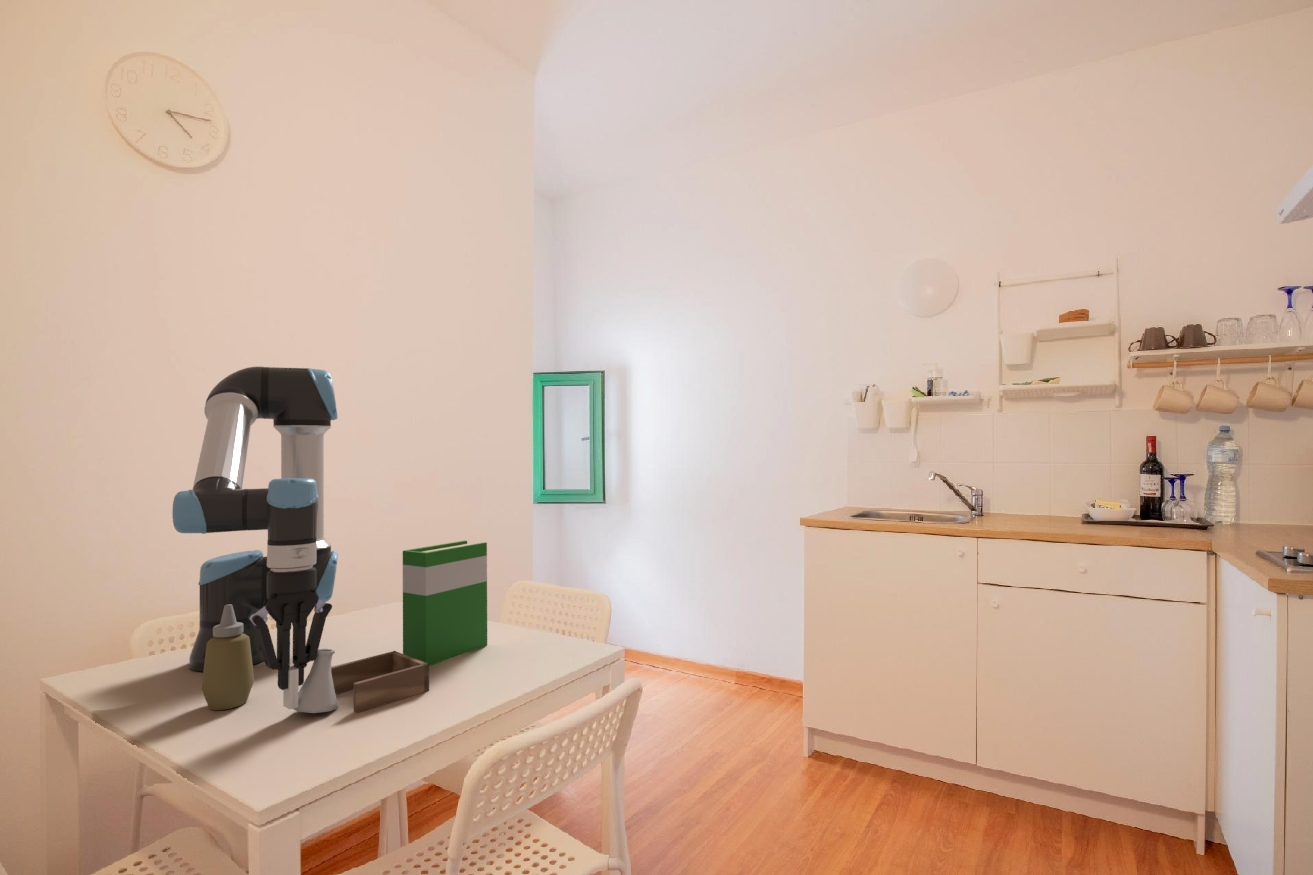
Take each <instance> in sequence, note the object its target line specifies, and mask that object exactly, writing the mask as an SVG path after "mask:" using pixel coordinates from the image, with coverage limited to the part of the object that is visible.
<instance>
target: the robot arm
mask: <svg viewBox="0 0 1313 875" xmlns="http://www.w3.org/2000/svg"><path fill="white" fill-rule="evenodd" d="M335 394H336V393H335V389H334V382H333V378H332V375H331V373H330V372H329V371H328V370H325V369H316V368H309V367H308V368H305V367H300V368H298V367H274V366H273V367H270V366H269V367H268V366H251V367H246V368H245V367H244V368H242V369H239V370H236V371H235V372H233V373H230V374H229V375H227V376H226V377H225V378H223V379H222V380H220V381H219V382H218V383H217V384H215V386H214V387H213V388H212V390H211V391H210V393H209V394H208V396H207V398H206V401H205V404H204V410H203V411H204V416H205V419H207V423H206V425H205V426H206V428H205V431H204V437H203V440H202V446H201V448H200V449H201V450H200V453H199V454H200V455H199V458H198V462H197V467H196V472H195V476H194V481H193V487H192V489H187V490H181V491H178V492H177V493H175V496H174V498H173V501H172V512H171V513H172V515H171V516H172V523H173V528H174V529H175V530H176V532H178V533H180V534H204V535H206V534H214V533H227V532H244V531H264V530H265V531H267V539H266V540H267V546H266V548H267V549H266V550H267V551H266V556H264V553H263V551H262V550H259V549H255V550H246V551H239V552H233V553H229V554H224V555H220V556H216V557H213V558H211V559H207V560H206V561H205V562H203V563H202V564H201V566H200V570H199V582H198V583H197V584H198V586H199V629H198V633H197V636H196V639H195V642H194V644H193V646H192V649H191V651H190V655H189V659H188V660H189V664H188V665H189V666H188V667H189V669H190V670H192V671H196V672H202V673H203V671H204V663H205V654H206V646H207V642H208V641H209V640H210V639H211V638H214V636H213V627H214V626H216V625H219V624H220V622H221V618H222V614H223V610H224V606H225V605H229V604H232V606H233V610H234V614H235V617H236V621H237V622H241V623H243V634H246V635H247V636H249V639H250V647H251V656H252V664H253V666H254V665H256V664H257V665H258V664H260V663H262V662H264V665H265V667H267V668H269V669H270V670H273V671H274V670H276V671H277V687H278V689H280V690H281V691H283V692H282V693H283V695H282V696H283V700H282V702H283V703H282V704H283V706H282V707H284V708H286V709H288V710H294V709H293V708H297V707H298V692H299V687H300V686H302V685H303V684H304V682H305V668H307V665H308V663H310V662H314V660H315V659H316V656H317V652H318V649H320V648H319V647H320V643H321V639H322V635H323V631H324V628H325V627H324V626H325V625H326V624H325V623H326V621H327V620H326V619H327V617H328V616H329V614H330V612H331V610H332V609H333V605H332V604H331V603H328V602H329V601H330V600H331V598H333V592H334V589H335V580H336V575H337V566H338V564H337V563H338V556H339V554H338V552H337V551H334V550H332V544H331V543H330V542H329V541H328V540H327V539H326V538H325V536H324V535H325V533H324V532H325V529H324V527H325V526H324V524H325V523H324V510H325V508H324V505H325V504H324V503H325V502H324V500H325V499H324V494H325V492H324V490H325V489H324V487H325V486H324V484H325V483H324V476H325V475H324V474H325V473H324V469H325V468H324V467H325V466H324V439H325V438H324V435H325V434H326V432H327V431H329V429H331V428H332V427H331V426H332V424H331V423H332V421H335V420H337V419H338V410H337V409H338V408H337V400H336V395H335ZM257 419H258V420H259V419H262V420H263V419H264V420H273V428H274V430H276V431H277V432H278V433H279V434H280V438H281V439H280V448H281V450H280V456H281V457H280V460H281V461H280V462H281V463H280V467H281V468H280V470H281V471H280V472H281V473H280V475H281V476H280V477H281V478H274V479H271V480H270V481H269V482H268V487H267V488H243V484H244V476H245V469H246V463H247V456H248V447H249V441H250V440H249V439H250V435H251V434H250V433H251V428H252V427H251V426H252V425H253V424H255V422H256V421H257ZM312 611H314V614H313V616H312V620H311V623H310V627H309V632H308V636H306V635H307V626H308V617H310V615H311V613H312ZM268 614H269V616H270V617H271V618H272V619H273V621H275V627H276V651H275V647H274V644H273V639H272V636H271V633H270V629H269V626H268V624H267V622H268V621H269V618H268ZM291 629H292V664H293V665H291ZM306 637H307V640H306Z"/></svg>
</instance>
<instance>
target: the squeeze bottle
mask: <svg viewBox="0 0 1313 875" xmlns="http://www.w3.org/2000/svg"><path fill="white" fill-rule="evenodd" d="M213 636H214V638H211V639H210V640H209V641H208V642H207V646H206V654H205V663H204V671H203V672H202V673H203V674H202V681H201V689H200V690H201V692H202V694H203V697H204V699H205V702H206V704H207V706H208V708H209V709H210V710H214V711H218V710H219V711H221V710H222V711H224V710H228V709H234V708H237V707H240V706H242V705H244V704H245V703H247V702H248V700H249V696H250V693H251V691H252V688H253V685H254V682H255V674H254V665H253V664H252V656H251V647H250V639H249V636H247V635H246V634H243V623H241V622H237V621H236V617H235V614H234V610H233V606H232V604H229V605H225V606H224V610H223V614H222V618H221V622H220V624H219V625H216V626H214V627H213Z"/></svg>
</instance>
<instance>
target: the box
mask: <svg viewBox="0 0 1313 875" xmlns="http://www.w3.org/2000/svg"><path fill="white" fill-rule="evenodd" d="M331 674H332V679H333V685H334V690H335V694H336V695H337V694H341V693H345V692H348V691H351V690H353V712H354V713H355V714H358V713H362V712H364V711H368V710H371V709H374V708H376V707H377V708H378V707H380V706H383V705H386V704H391V703H393V702H396V701H399V700H404V699H405V698H409V697H412V696H415V695H418V694H422V693H424V692H428V691H430V666H429V664H428V663H425V662H423V661H420V660H417V659H415V658H412V657H410V656H407V655H404V654H403V652H402V653H401V652H399V651H396V650H393V651H388V652H385V653H380V654H377V655H373V656H368V657H364V658H362V659H357V660H354V661H348V662H345V663H342V664H337V665H333V666H331Z"/></svg>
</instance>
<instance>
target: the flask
mask: <svg viewBox="0 0 1313 875" xmlns="http://www.w3.org/2000/svg"><path fill="white" fill-rule="evenodd" d="M335 653H336V650H335V649H332V648H318V652H317V656H316V659H315V660H314V661H312V662H313V663H312V665H311V668H310V671H309V673H308V674H307V677H306V678H305V679H304V683H303V685H301V688H299V690H298V707H297V708H293V709H292V710H293V711H295V712H299V713H309V714H310V713H311V714H317V713H319V714H321V713H326V712H332V711H333V710H336V709H337V708H339V705H338V700H337V699H338V698H337V694H335V690H334V685H333V679H332V674H331V667H332V659H333V655H334V654H335Z"/></svg>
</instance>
